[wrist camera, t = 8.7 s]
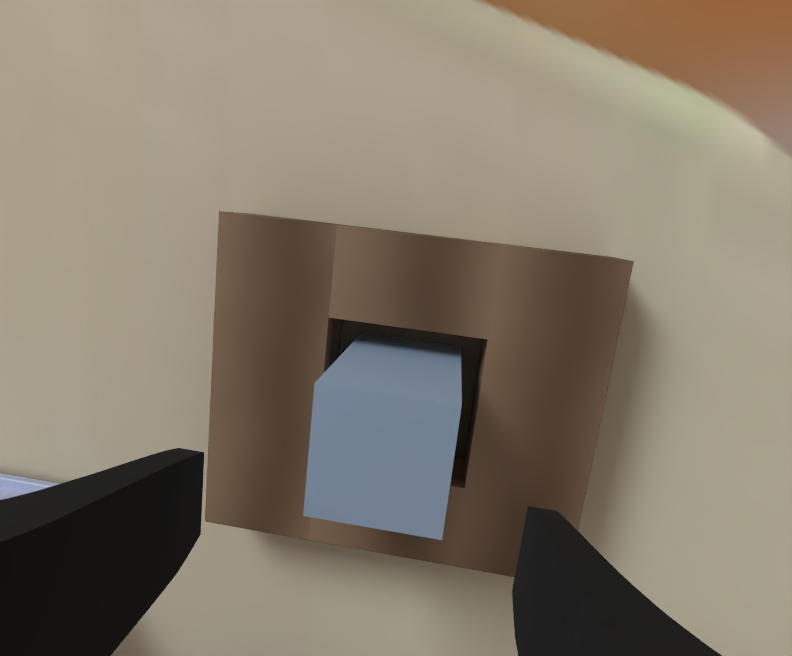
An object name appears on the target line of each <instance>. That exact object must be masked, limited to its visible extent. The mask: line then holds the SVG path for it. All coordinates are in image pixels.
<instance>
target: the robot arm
mask: <svg viewBox="0 0 792 656" xmlns="http://www.w3.org/2000/svg"><path fill="white" fill-rule="evenodd" d="M203 466H204V452H199V451H193V450H187V449H181V448H177V449H172V450H167V451H163V452H160V453H156V454H153V455H150V456H146V457H143V458H140V459H137V460H134V461H131V462H128V463H125V464H122V465H119V466H116V467H113V468H110V469H107V470H104V471H101V472H98V473H95V474H92V475H88V476H85V477H82V478H78V479H75V480H72V481H68V482H65V483H62V484H59V483H53V482H47V481H42V480H36V479H30V478H25V477H19V476H14V475H8V474H2V473H0V656H111V654H112V653H113V652H114V651H115V649H116V648H117V647H118V646H119V645H120V643H121V642H122V641H123V640H124V638H125V637H126V636H127V635H128V634H129V632H130V631H131V630H132V629H133V627H134V626H135V625H136V624H137V622H138V621H139V620H140V619H141V618H142V616H143V615H144V614H145V613H146V611H147V610H148V609H149V608H150V606H151V605H152V604H153V603H154V602H155V600H156V599H157V598H158V597H159V595H160V594H161V593H162V592H163V590H164V589H165V588H166V586H167V585H168V584H169V583H170V581H171V580H172V579H173V578H174V576H175V575H176V574H177V572H178V571H179V569H180V567H181V566H182V564H183V563H184V561H185V559H186V558H187V556H188V555H189V553H190V551H191V550H192V548H193V546H194V544H195V543H196V541H197V539H198V538H199V536H200V533H201V511H202V488H203ZM512 594H513V612H514V627H515V639H516V645H517V650H518V656H721V655H720V654H719V653H717V652H716V651H714V650H713V649H712V648H710V647H709V646H707V645H706V644H705V643H703V642H702V641H700V640H699V639H698V638H697V637H695V636H694V635H693V634H691V633H690V632H689V631H687V630H686V629H685V628H683V627H682V626H681V625H680V624H678V623H677V622H676V621H674V620H673V619H672V618H670V617H669V616H668V615H667V614H666V613H664V612H663V611H662V610H661V609H659V608H658V607H657V606H656V605H655V604H653V603H652V602H651V601H650V600H649V599H648V598H647V597H646V596H644V595H643V594H642V593H641V592H640V591H639V590H638V589H637V588H635V587H634V586H633V585H632V584H631V583H630V582H629V581H628V580H627V579H625V578H624V577H623V576H622V575H621V574H620V573H619V572H618V571H617V570H616V569H615V568H614V567H613V566H612V565H611V564H610V563H609V562H608V561H607V560H606V559H605V558H604V557H603V556H602V555H601V554H600V553H599V552H598V551H597V550H596V549H595V548H594V547H593V546H592V545H591V544H590V543H589V542H588V541H587V540H586V539H585V538H584V537H583V536H582V535H581V534H580V533H579V532H578V531H577V530H576V529H575V528H574V527H573V526H572V525H571V524H570V523H569V522H568V521H567V520H566V519H565V518H564V517H563V516H562V515H561V514H560V513H559V512H558V511H555V510H549V509H542V508H536V507H530V506H528V508H527V513H526V519H525V524H524V530H523V535H522V541H521V546H520V551H519V557H518V562H517V568H516V573H515V579H514V584H513V590H512Z"/></svg>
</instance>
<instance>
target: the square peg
mask: <svg viewBox="0 0 792 656" xmlns="http://www.w3.org/2000/svg"><path fill="white" fill-rule="evenodd" d="M461 408H462V380H461V346H456V345H448V344H441V343H434V342H427V341H419V340H412V339H405V338H398V337H390V336H383V335H376V334H369V333H361V334H360V335H359V336H358V337H357V338H356V339H355V340H354V341H353V342H352V344H351V345H350V346H349V347H348V348H347V349H346V350H345V351H344V352H343V353H342V354H341V355H340V356H339V357H338V359H337V360H336V361H335V362H334V363H333V364H332V365H331V366H330V367H329V368H328V369H327V370H326V371H325V372H324V374H323V375H322V376H321V377H320V378H319V379H318V380H317V381H316V382H315V384H314V396H313V407H312V419H311V430H310V442H309V453H308V465H307V477H306V488H305V500H304V511H303V516H306V517H312V518H318V519H323V520H329V521H335V522H341V523H346V524H352V525H358V526H364V527H369V528H375V529H381V530H387V531H392V532H398V533H404V534H410V535H415V536H421V537H427V538H433V539H438V540H442V537H443V530H444V523H445V516H446V510H447V503H448V496H449V489H450V482H451V476H452V469H453V462H454V455H455V449H456V442H457V435H458V428H459V421H460V415H461Z"/></svg>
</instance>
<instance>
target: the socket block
mask: <svg viewBox="0 0 792 656" xmlns="http://www.w3.org/2000/svg"><path fill="white" fill-rule="evenodd" d="M633 262H634V261H629V260H624V259H618V258H613V257H606V256H598V255H589V254H581V253H573V252H564V251H556V250H548V249H539V248H531V247H523V246H514V245H506V244H498V243H489V242H481V241H473V240H464V239H456V238H448V237H439V236H431V235H423V234H414V233H406V232H398V231H389V230H381V229H373V228H365V227H356V226H348V225H340V224H331V223H323V222H315V221H306V220H298V219H290V218H281V217H273V216H265V215H256V214H248V213H234V212H220V211H219V226H218V248H217V270H216V291H215V313H214V335H213V357H212V379H211V401H210V423H209V445H208V466H207V488H206V510H205V521H206V522H211V523H217V524H222V525H228V526H233V527H239V528H245V529H250V530H256V531H261V532H267V533H272V534H278V535H284V536H289V537H295V538H300V539H306V540H311V541H317V542H323V543H328V544H334V545H339V546H345V547H350V548H356V549H362V550H367V551H373V552H378V553H384V554H389V555H395V556H400V557H406V558H412V559H417V560H423V561H428V562H434V563H439V564H445V565H451V566H456V567H462V568H467V569H473V570H478V571H484V572H490V573H495V574H501V575H506V576H512V577H515V573H516V568H517V562H518V557H519V551H520V546H521V541H522V535H523V530H524V524H525V519H526V513H527V508H528V506H530V507H536V508H542V509H549V510H555V511H558V512H559V513H560V514H561V515H562V516H563V517H564V518H565V519H566V520H567V521H568V522H569V523H570V524H571V525H572V526H573V527H574V528H575V529H576V530H577V531H578V527H579V522H580V517H581V513H582V508H583V503H584V498H585V493H586V489H587V484H588V479H589V474H590V469H591V464H592V460H593V455H594V450H595V445H596V440H597V436H598V431H599V426H600V421H601V416H602V411H603V407H604V402H605V397H606V392H607V387H608V382H609V378H610V373H611V368H612V363H613V358H614V354H615V349H616V344H617V339H618V334H619V329H620V325H621V320H622V315H623V310H624V305H625V300H626V296H627V291H628V286H629V281H630V276H631V272H632V267H633ZM343 320H350V321H357V322H364V323H372V324H379V325H386V326H394V327H401V328H408V329H415V330H423V331H430V332H437V333H444V334H452V335H459V336H466V337H473V338H481V339H482V346H481V352H480V359H479V365H478V372H477V378H476V385H475V391H474V398H473V404H472V411H471V417H470V424H469V430H468V437H467V443H466V450H465V456H464V459H463V458H456V457H454V462H453V469H452V476H451V482H450V489H449V496H448V503H447V510H446V516H445V523H444V530H443V537H442V540H438V539H433V538H427V537H421V536H415V535H410V534H404V533H398V532H392V531H387V530H381V529H375V528H369V527H364V526H358V525H352V524H346V523H341V522H335V521H329V520H323V519H318V518H312V517H306V516H303V511H304V500H305V488H306V477H307V465H308V453H309V442H310V430H311V419H312V407H313V396H314V384H315V382H316V381H317V380H318V379H319V378H320V377H321V376H322V375H323V374H324V372H325V371H326V370H327V369H328V368H329V367H330V366H331V365H332V364H333V363H334V362H335V361H336V360H337V359H338V357H339V353H340V343H341V333H342V322H343Z"/></svg>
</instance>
